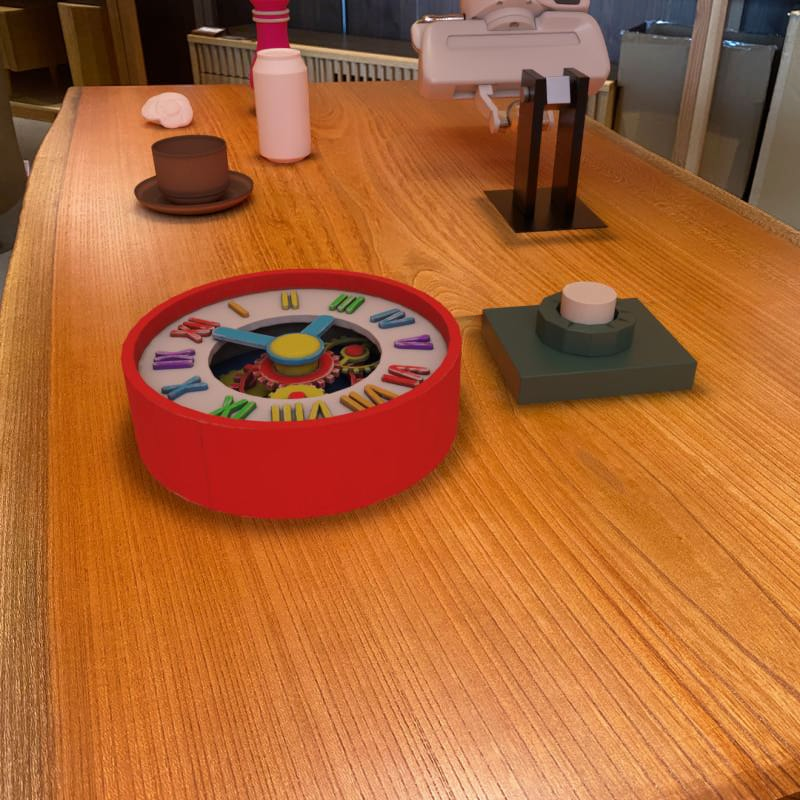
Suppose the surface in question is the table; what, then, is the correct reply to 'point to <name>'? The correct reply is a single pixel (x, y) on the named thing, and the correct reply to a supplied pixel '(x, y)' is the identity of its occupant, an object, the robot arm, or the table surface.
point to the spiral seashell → (168, 110)
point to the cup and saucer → (192, 177)
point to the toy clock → (294, 391)
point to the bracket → (559, 202)
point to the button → (588, 303)
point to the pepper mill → (270, 26)
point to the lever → (554, 99)
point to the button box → (584, 353)
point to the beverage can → (282, 105)
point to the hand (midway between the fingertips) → (523, 129)
